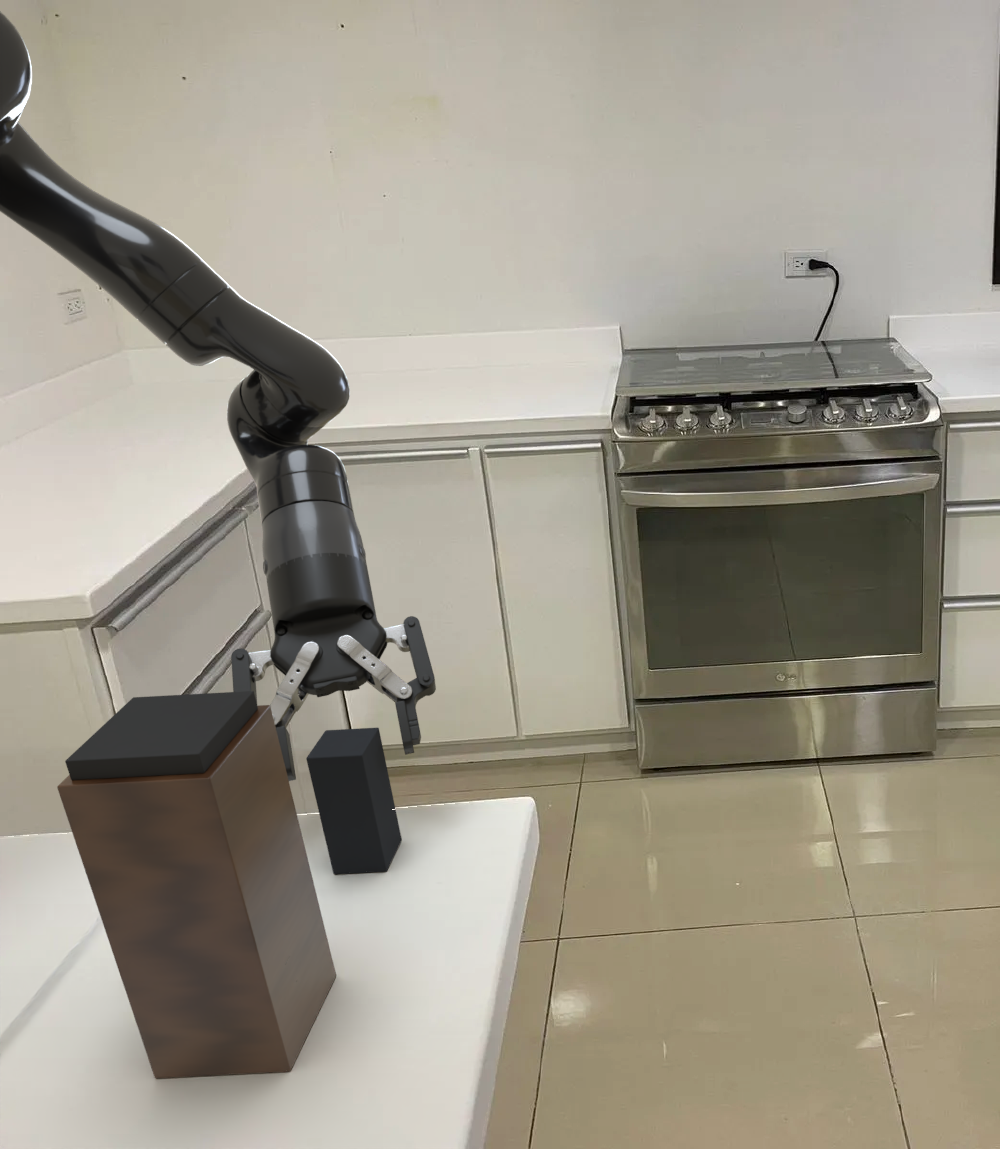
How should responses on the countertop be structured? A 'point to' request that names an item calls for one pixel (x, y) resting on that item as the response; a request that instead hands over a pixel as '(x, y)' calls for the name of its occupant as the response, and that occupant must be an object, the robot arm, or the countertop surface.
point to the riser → (208, 907)
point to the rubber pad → (163, 736)
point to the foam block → (354, 800)
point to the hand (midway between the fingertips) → (349, 764)
